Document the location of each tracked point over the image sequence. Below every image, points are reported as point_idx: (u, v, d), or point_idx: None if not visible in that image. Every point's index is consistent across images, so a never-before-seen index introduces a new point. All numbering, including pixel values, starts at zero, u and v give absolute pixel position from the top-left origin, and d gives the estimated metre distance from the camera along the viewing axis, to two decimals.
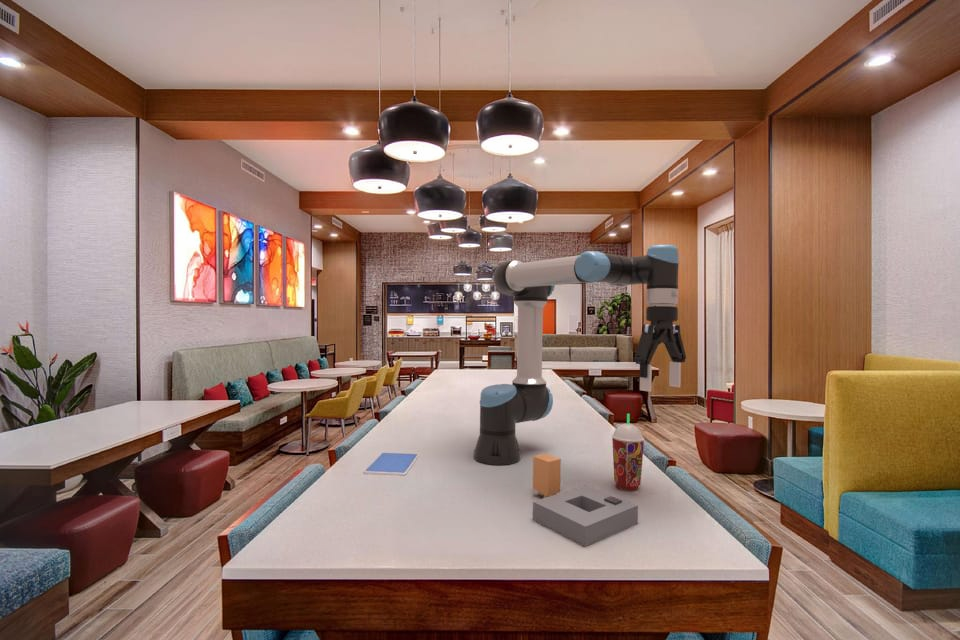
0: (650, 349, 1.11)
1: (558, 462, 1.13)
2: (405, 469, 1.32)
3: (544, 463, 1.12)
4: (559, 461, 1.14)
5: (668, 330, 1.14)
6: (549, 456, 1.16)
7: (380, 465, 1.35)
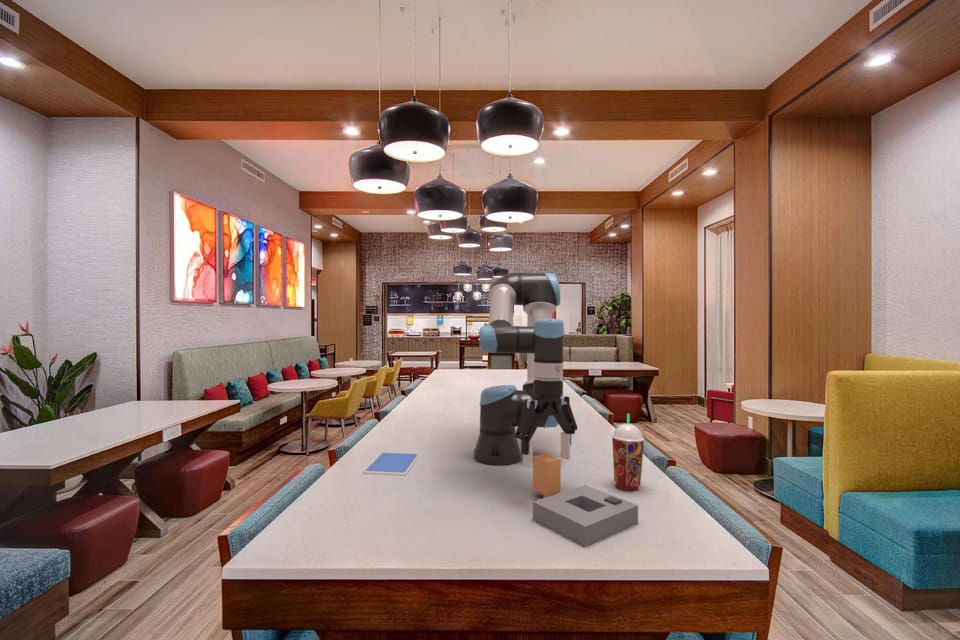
0: (532, 425, 1.10)
1: (558, 462, 1.13)
2: (405, 469, 1.32)
3: (544, 463, 1.12)
4: (559, 461, 1.14)
5: (554, 404, 1.14)
6: (549, 456, 1.16)
7: (380, 465, 1.35)
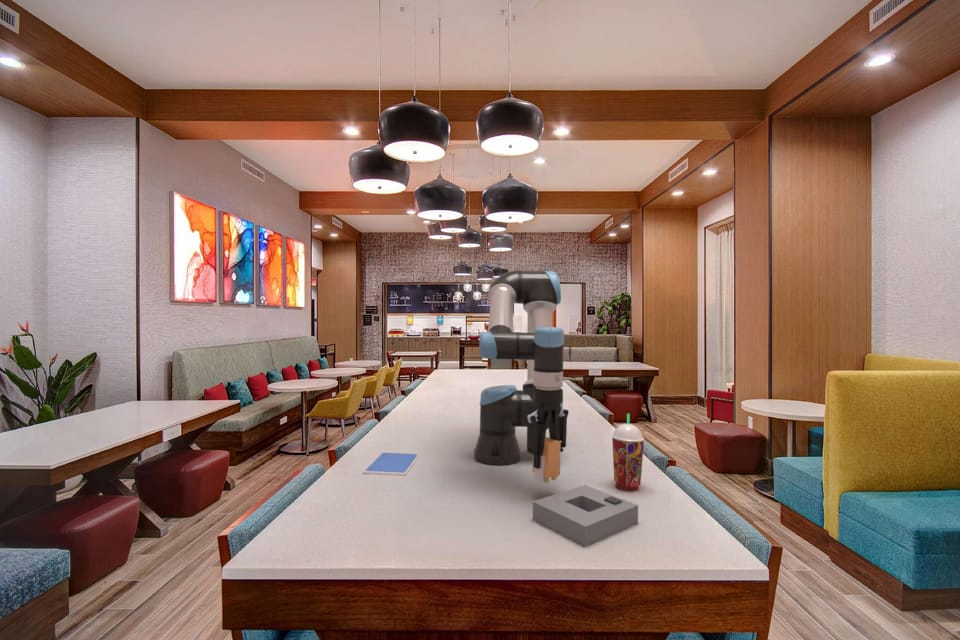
0: (539, 439, 1.12)
1: (557, 444, 1.14)
2: (405, 469, 1.32)
3: (544, 446, 1.13)
4: (559, 444, 1.14)
5: (554, 411, 1.14)
6: (549, 439, 1.16)
7: (380, 465, 1.35)
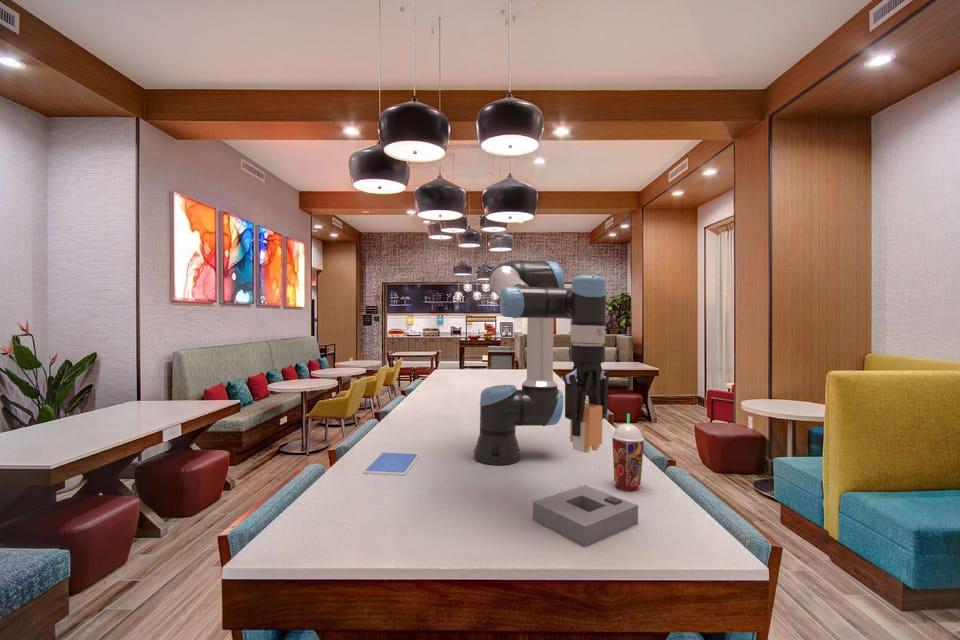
0: (579, 402, 0.98)
1: (599, 409, 0.99)
2: (405, 469, 1.32)
3: (584, 410, 0.99)
4: (601, 408, 1.00)
5: (595, 371, 1.00)
6: (589, 404, 1.02)
7: (380, 465, 1.35)
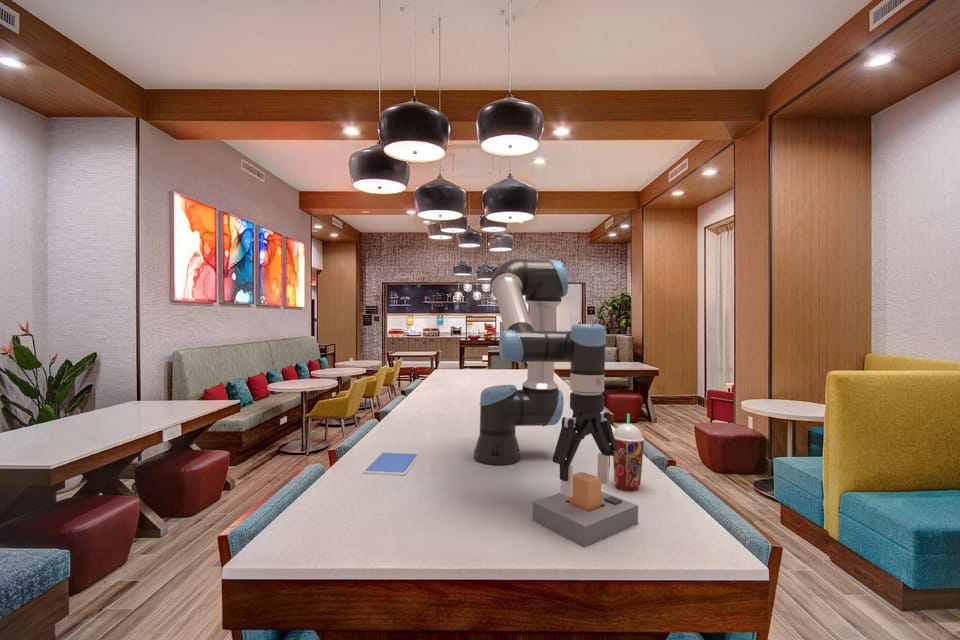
0: (571, 447, 0.97)
1: (598, 482, 1.00)
2: (405, 469, 1.32)
3: (583, 484, 0.99)
4: (599, 481, 1.00)
5: (594, 420, 1.00)
6: (587, 475, 1.02)
7: (380, 465, 1.35)
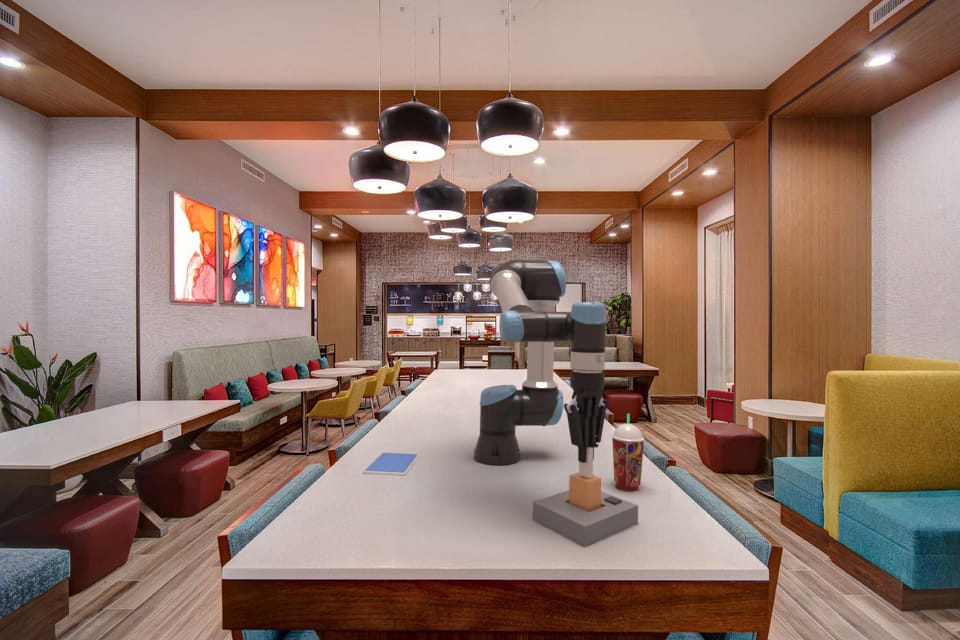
0: (583, 429, 0.99)
1: (598, 482, 1.00)
2: (405, 469, 1.32)
3: (583, 484, 0.99)
4: (599, 481, 1.00)
5: (595, 397, 1.00)
6: None
7: (380, 465, 1.35)
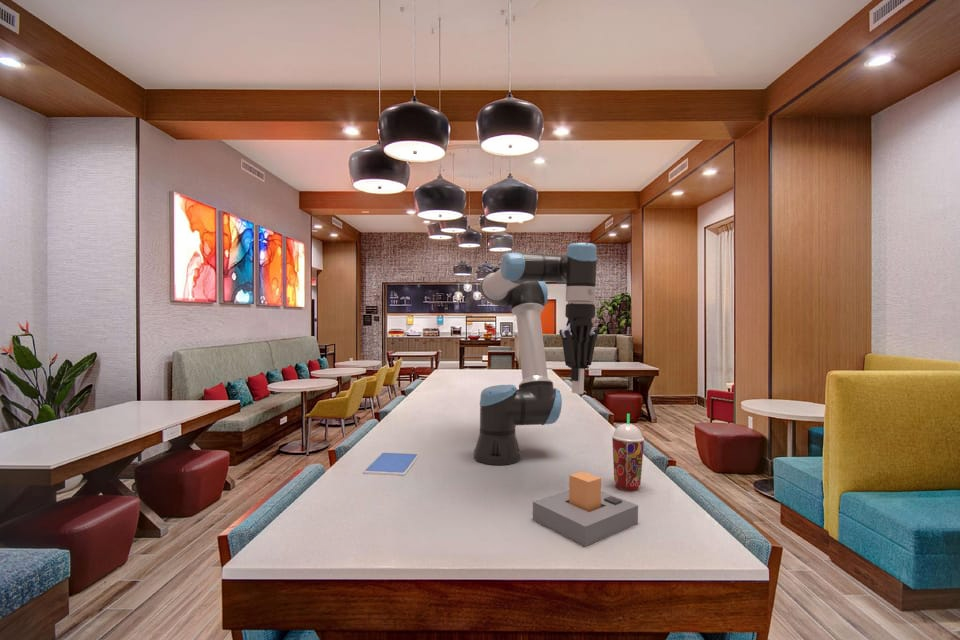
0: (575, 353, 1.16)
1: (598, 482, 1.00)
2: (404, 469, 1.32)
3: (583, 484, 0.99)
4: (599, 481, 1.00)
5: (586, 326, 1.16)
6: (587, 475, 1.02)
7: (380, 465, 1.35)
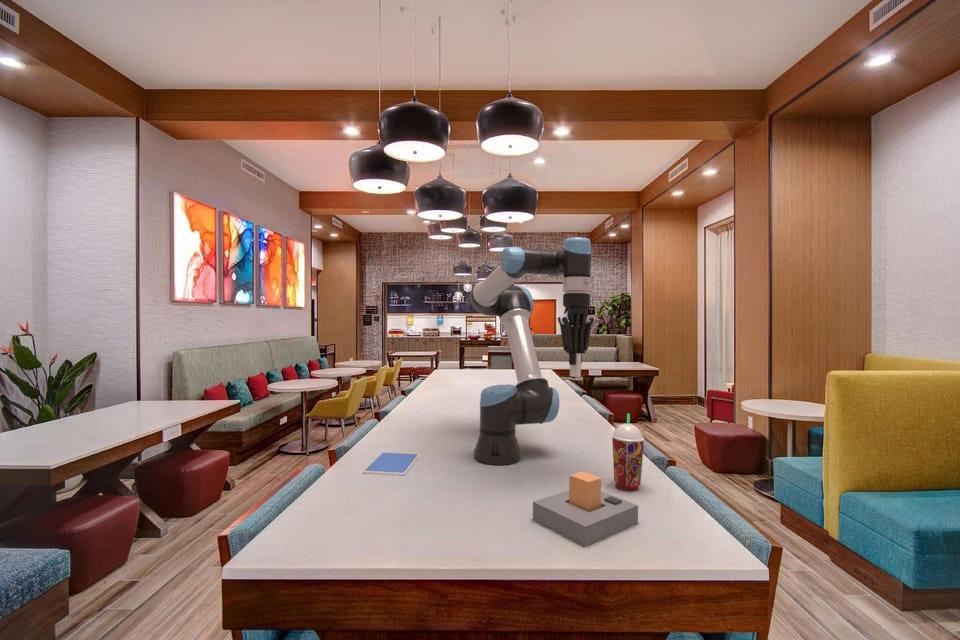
0: (573, 338, 1.25)
1: (598, 482, 1.00)
2: (404, 469, 1.32)
3: (583, 484, 0.99)
4: (599, 481, 1.00)
5: (582, 314, 1.26)
6: (587, 475, 1.02)
7: (380, 465, 1.35)
